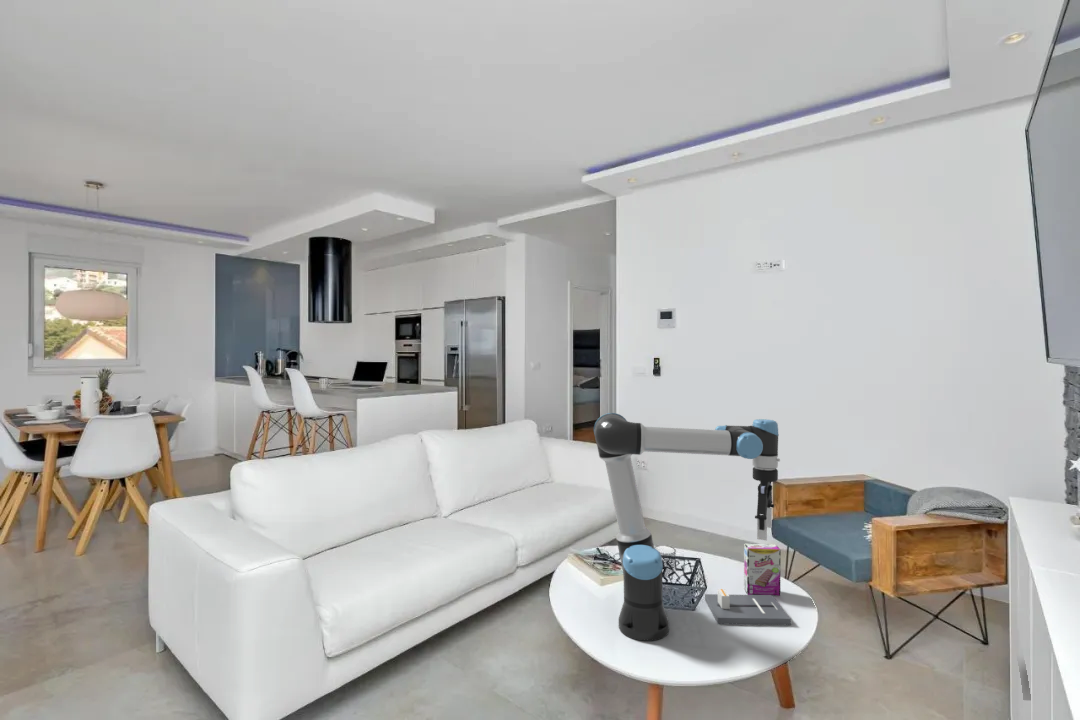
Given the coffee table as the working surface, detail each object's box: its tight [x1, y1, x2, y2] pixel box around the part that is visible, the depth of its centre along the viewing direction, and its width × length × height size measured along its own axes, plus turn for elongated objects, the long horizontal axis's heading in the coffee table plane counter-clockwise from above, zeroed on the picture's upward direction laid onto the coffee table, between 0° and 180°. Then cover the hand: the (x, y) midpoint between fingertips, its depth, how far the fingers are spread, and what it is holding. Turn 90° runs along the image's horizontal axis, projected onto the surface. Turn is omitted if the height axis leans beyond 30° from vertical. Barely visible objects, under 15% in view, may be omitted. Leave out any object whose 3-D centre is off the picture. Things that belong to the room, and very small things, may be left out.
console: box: [704, 593, 792, 626], centre depth 171 cm, size 22×16×2 cm
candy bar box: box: [743, 543, 781, 597], centre depth 184 cm, size 11×5×16 cm, turn 84°
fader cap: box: [717, 588, 730, 609], centre depth 171 cm, size 2×5×4 cm, turn 176°
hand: (764, 533), depth 172 cm, fingers open, 13 cm apart
